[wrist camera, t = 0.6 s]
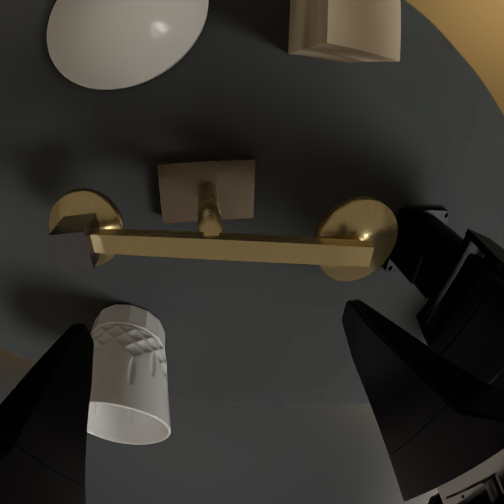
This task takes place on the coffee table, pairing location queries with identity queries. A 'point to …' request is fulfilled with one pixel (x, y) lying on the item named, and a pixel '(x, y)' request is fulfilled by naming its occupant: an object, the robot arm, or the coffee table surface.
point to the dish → (122, 39)
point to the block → (346, 29)
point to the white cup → (129, 377)
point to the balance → (219, 224)
